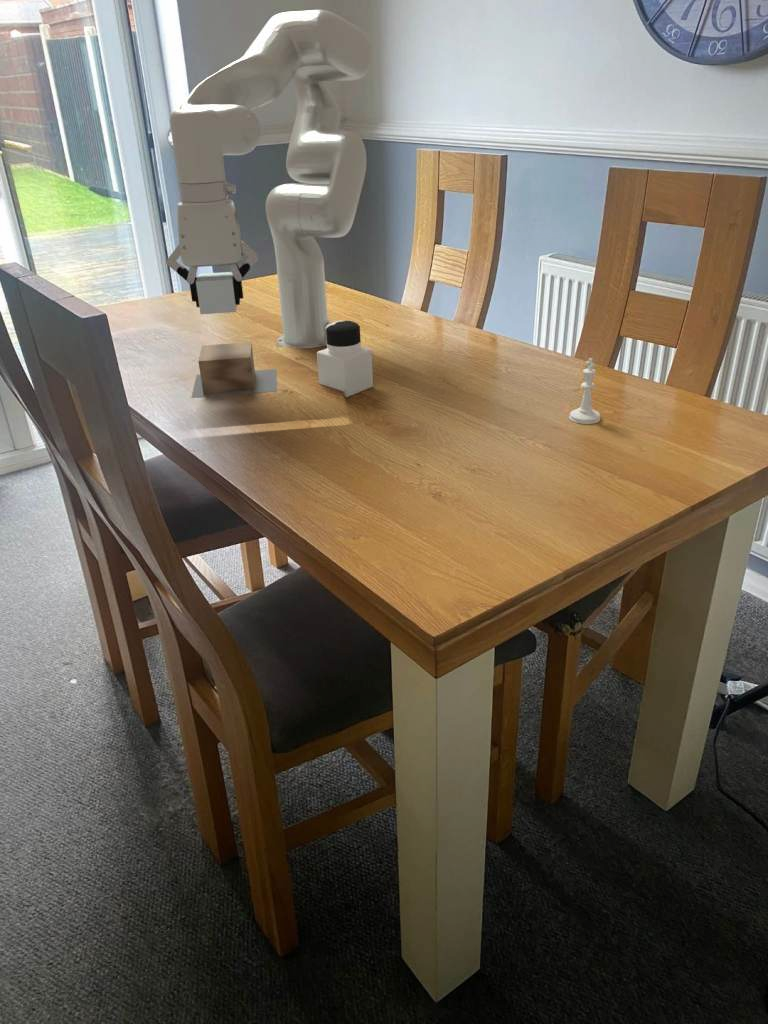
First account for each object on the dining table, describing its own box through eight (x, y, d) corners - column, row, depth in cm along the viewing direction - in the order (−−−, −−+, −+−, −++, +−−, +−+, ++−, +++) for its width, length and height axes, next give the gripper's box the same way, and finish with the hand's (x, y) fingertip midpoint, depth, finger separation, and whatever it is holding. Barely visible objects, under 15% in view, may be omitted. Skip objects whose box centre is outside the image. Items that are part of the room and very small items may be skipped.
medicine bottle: (374, 387, 143) (371, 322, 138) (346, 398, 139) (342, 331, 133) (346, 378, 148) (342, 315, 142) (318, 389, 143) (313, 324, 137)
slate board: (276, 374, 151) (276, 368, 150) (277, 397, 140) (276, 391, 140) (197, 380, 149) (196, 374, 149) (192, 404, 139) (191, 397, 138)
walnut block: (255, 373, 149) (251, 342, 146) (254, 389, 141) (250, 357, 138) (206, 376, 148) (202, 345, 145) (203, 393, 140) (198, 361, 137)
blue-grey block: (237, 303, 140) (233, 271, 138) (235, 312, 135) (231, 279, 132) (203, 305, 140) (198, 273, 137) (200, 314, 134) (195, 281, 132)
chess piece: (582, 426, 125) (588, 366, 120) (562, 416, 129) (567, 357, 124) (606, 420, 127) (613, 360, 122) (586, 410, 131) (592, 351, 126)
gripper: (257, 188, 132) (268, 296, 141) (152, 193, 131) (170, 302, 139) (256, 193, 126) (268, 306, 135) (146, 199, 124) (165, 313, 133)
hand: (218, 303), depth 137 cm, fingers closed on blue-grey block, 6 cm apart
